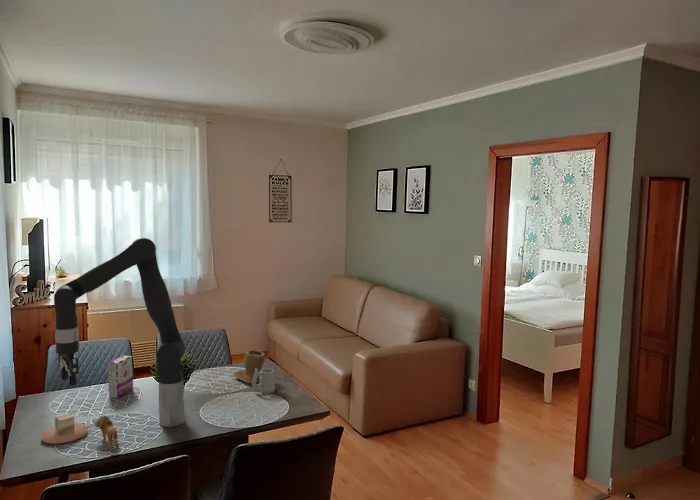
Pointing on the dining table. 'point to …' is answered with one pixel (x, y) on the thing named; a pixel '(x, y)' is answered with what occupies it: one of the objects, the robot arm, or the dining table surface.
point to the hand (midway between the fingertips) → (68, 382)
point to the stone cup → (251, 366)
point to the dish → (54, 438)
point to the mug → (264, 380)
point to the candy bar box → (120, 376)
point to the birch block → (64, 424)
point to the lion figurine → (107, 430)
